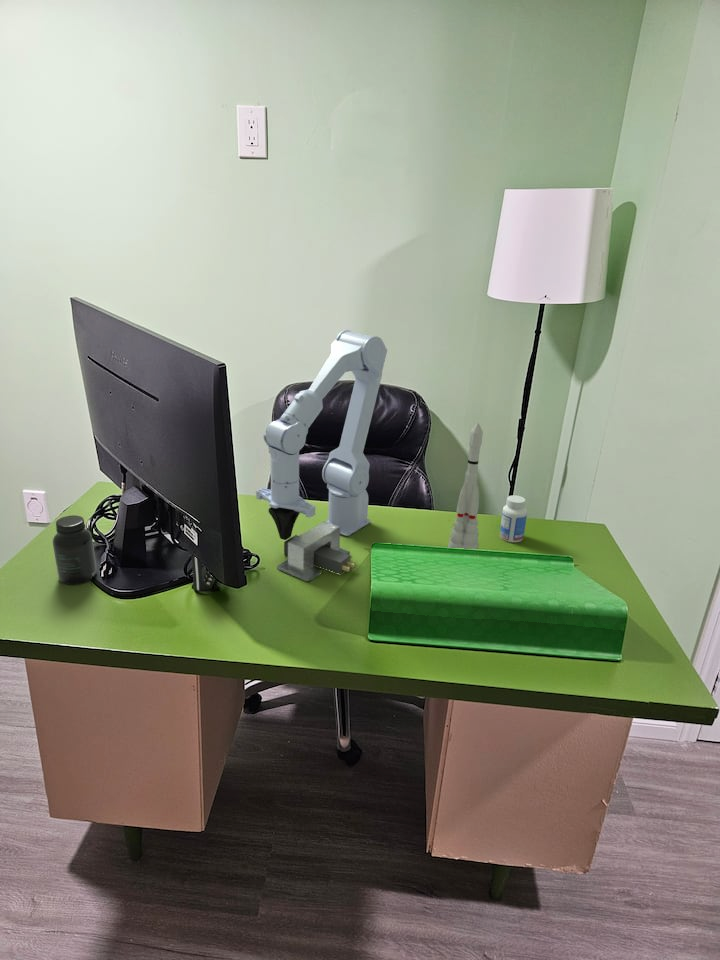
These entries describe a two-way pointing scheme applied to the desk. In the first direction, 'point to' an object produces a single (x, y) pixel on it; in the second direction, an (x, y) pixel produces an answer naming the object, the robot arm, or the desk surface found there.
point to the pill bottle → (513, 519)
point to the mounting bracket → (310, 550)
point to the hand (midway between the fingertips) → (285, 537)
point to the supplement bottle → (73, 550)
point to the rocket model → (468, 499)
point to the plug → (328, 558)
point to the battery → (201, 576)
